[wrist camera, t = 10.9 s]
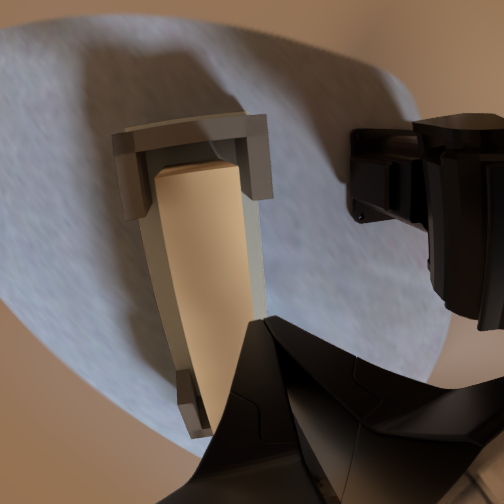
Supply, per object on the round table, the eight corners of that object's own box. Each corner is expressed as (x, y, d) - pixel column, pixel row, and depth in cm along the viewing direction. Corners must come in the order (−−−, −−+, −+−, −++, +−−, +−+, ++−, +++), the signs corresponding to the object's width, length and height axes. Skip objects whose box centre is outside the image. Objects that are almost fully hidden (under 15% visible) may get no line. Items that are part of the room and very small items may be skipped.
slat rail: (246, 112, 17) (265, 103, 13) (270, 386, 25) (285, 424, 21) (127, 128, 16) (110, 124, 12) (188, 401, 24) (192, 442, 19)
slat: (218, 158, 17) (238, 166, 11) (246, 378, 23) (267, 443, 17) (165, 165, 16) (154, 178, 10) (207, 385, 22) (219, 453, 16)
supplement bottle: (272, 456, 29) (304, 545, 18) (236, 434, 26) (266, 541, 15) (325, 427, 29) (371, 514, 18) (297, 400, 26) (348, 506, 15)
